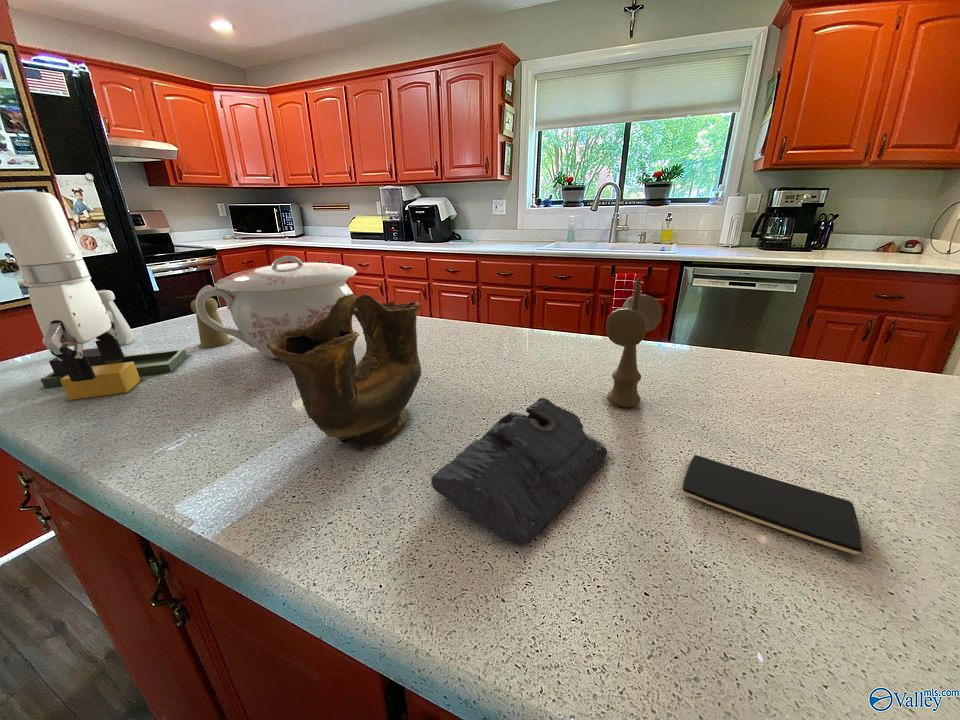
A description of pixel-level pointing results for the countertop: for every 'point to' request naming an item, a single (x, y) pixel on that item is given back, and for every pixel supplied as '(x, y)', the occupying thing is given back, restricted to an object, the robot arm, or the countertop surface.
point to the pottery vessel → (355, 368)
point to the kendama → (630, 343)
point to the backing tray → (137, 364)
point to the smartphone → (775, 503)
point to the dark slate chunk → (521, 470)
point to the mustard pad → (103, 381)
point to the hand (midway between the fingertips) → (100, 369)
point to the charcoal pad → (91, 354)
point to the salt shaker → (116, 317)
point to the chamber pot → (276, 299)
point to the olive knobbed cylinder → (207, 333)
